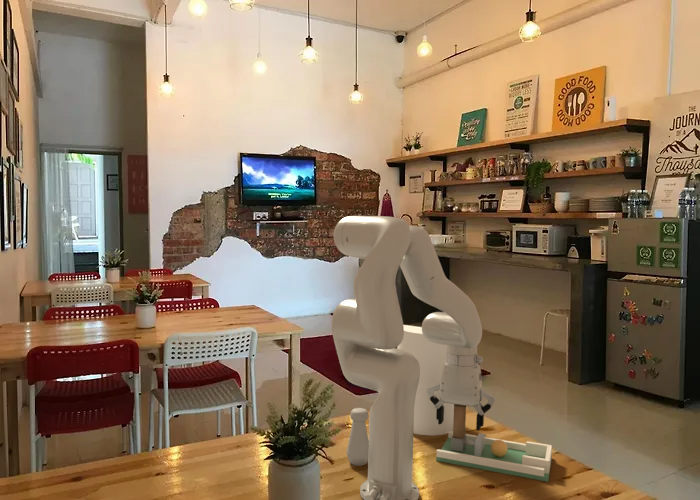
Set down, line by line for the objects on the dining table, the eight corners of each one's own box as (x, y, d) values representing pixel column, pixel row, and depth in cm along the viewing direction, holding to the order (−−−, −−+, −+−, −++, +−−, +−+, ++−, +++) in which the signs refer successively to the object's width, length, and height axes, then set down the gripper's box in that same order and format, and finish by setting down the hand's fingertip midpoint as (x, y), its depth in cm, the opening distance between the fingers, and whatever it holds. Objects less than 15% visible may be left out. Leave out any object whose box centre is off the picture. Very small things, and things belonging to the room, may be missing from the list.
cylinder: (441, 440, 152) (444, 337, 150) (384, 426, 161) (387, 329, 159) (464, 421, 166) (467, 326, 165) (411, 409, 175) (413, 320, 174)
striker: (480, 456, 139) (481, 412, 138) (450, 451, 141) (451, 408, 141) (484, 447, 144) (486, 405, 143) (455, 442, 147) (456, 400, 146)
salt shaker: (368, 468, 134) (369, 414, 133) (344, 466, 135) (345, 412, 134) (372, 458, 139) (373, 406, 139) (349, 456, 140) (350, 404, 140)
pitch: (548, 481, 129) (548, 464, 129) (436, 460, 139) (436, 444, 139) (551, 457, 142) (552, 442, 141) (449, 440, 152) (449, 425, 151)
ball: (506, 460, 137) (506, 444, 137) (489, 457, 139) (489, 441, 138) (508, 454, 141) (508, 438, 141) (491, 451, 142) (492, 436, 142)
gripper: (498, 359, 142) (496, 426, 144) (431, 352, 149) (430, 415, 150) (494, 366, 135) (492, 436, 137) (424, 358, 142) (422, 425, 143)
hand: (459, 425), depth 143 cm, fingers open, 9 cm apart
